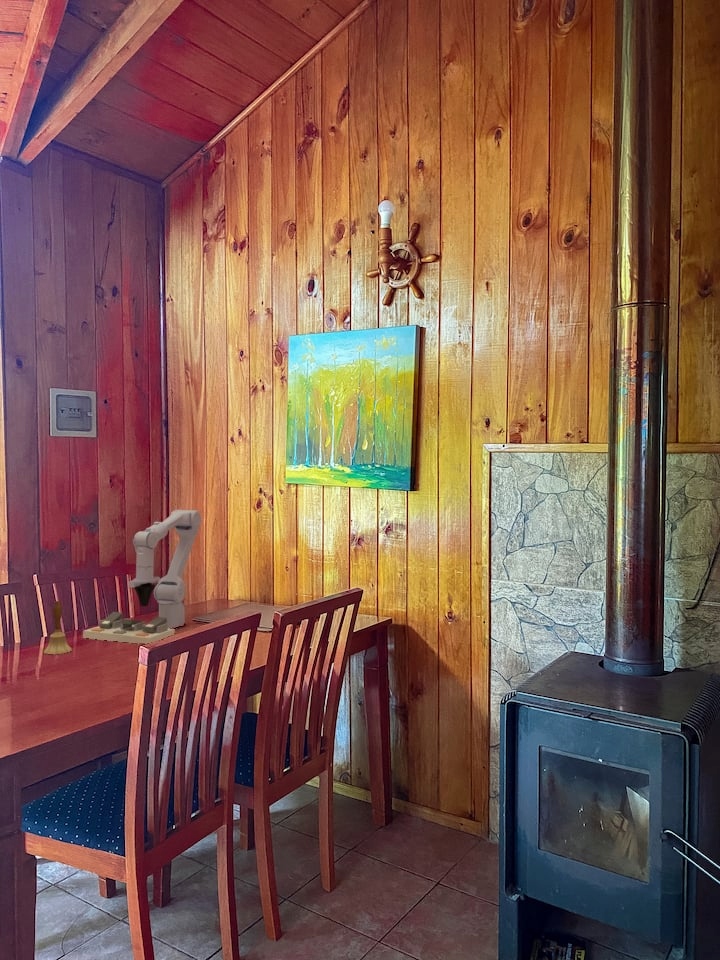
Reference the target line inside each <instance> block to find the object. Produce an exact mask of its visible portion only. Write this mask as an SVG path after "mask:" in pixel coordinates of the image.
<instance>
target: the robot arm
mask: <svg viewBox="0 0 720 960" xmlns="http://www.w3.org/2000/svg"><path fill="white" fill-rule="evenodd" d="M201 524H202V517H201V513H200V511H199V510H197V509H194V510H193V509H192V510H190V509H189V510H188V509H174V510H173V511H171V513H170V515H169V516H168V517H167V518H165V519H164V520H163V521H154V522H153V524H152V525H151V526H149V527H146V529H145V530H143V531H138V532H136V533H135V534H134V537H133V539H132V544H133V547H134V552H135V553H136V558H135V559H136V563H135V565H136V566H135V567H136V568H135V578H133V579H132V580H130V581H128V588H134V591H135V592H136V594H137V597H138V601H139V604H140V605H139V606H140V607H148V606H149V602H150V599H151V596H152V594H153V597H154V599H155V601H157V602H156V603H157V604H158V617H162V618H167V623H165V624H168V628H169V629H170V628H172V627H177V626H179V625H180V624H183V623H186V621H185V620H186V619H185V615H186V614H185V611H186V608H185V605H184V603H183V602H182V601H183V600H184V597H185V594H186V593H185V592H186V587H187V585H186V583H185V582H184V580H183V579H182V578H183V576H184V572H185V569H186V567H187V563H188V560H189V558H190V554H191V551H192V548H193V546H194V543H195V539H196V537H197V535H198V533H199V529H200V526H201ZM173 528H174V530H175V532H176V534H177V535H179V540H178V543H177V545H176V548H175V552H174V554H173V557H172V559H171V563H170V566H169V568H168V570H167V574H166V575H165V576H163V577H160V576H154V565H155V563H154V561H155V560H154V559H155V556H154V555H155V553H154V551H155V548H156V547H157V545H158V543H159V542H160V540H162V539H163V538H164V537H166V536H167V535H168V533H169V531H170V530H172V529H173Z"/></svg>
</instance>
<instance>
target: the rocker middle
mask: <svg viewBox="0 0 720 960" xmlns="http://www.w3.org/2000/svg"><path fill="white" fill-rule="evenodd" d="M140 622H146V621H144V620H137V619H133V618H124V617H123V618H122V619H121V623H122V624H130V625H134V624H137V623H140Z"/></svg>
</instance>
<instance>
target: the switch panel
mask: <svg viewBox="0 0 720 960" xmlns="http://www.w3.org/2000/svg"><path fill="white" fill-rule="evenodd" d="M103 620H104V619H101V620H98V626H95V627H91V628H88V629H84V630H82V638H83V639H86V638H89V639H88V640H95V639H97V640H98V641H104V640H107V641H106V642H113V641H118V642H117V643H122V642H129V643H128V644H131V643H138V644H137V645H140V644H139V643H145V644H147V643H151V642H155V641H158V640H161V639H163V638H166V637H168V636H171V635H174V633H175V634H176V629H169V628H168V624H163V625H160V626H157V627H156V631H154V632H145V631H143V626H145V625H146V624H147V622H146V621H145V622H140V623H137V624H134V625H130V624H122V623H121V620H118V621H115V622H112V627H111V628H110V629H105V628H100V626H99V624H100V623H101V622H102V621H103ZM97 640H96V641H97Z"/></svg>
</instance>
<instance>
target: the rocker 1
mask: <svg viewBox="0 0 720 960" xmlns="http://www.w3.org/2000/svg"><path fill="white" fill-rule="evenodd" d="M124 617H125V616H124V613H123V612H119V611H113V612H111V613H110V614H109V615H108V616H107V617H105V618H104V619H102V620H103V621H102V622H101V623H100V624H99V623H98V626H100V628H105V629H110V628H111V627H112V622H115V621H118V620H121V619H124Z"/></svg>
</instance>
